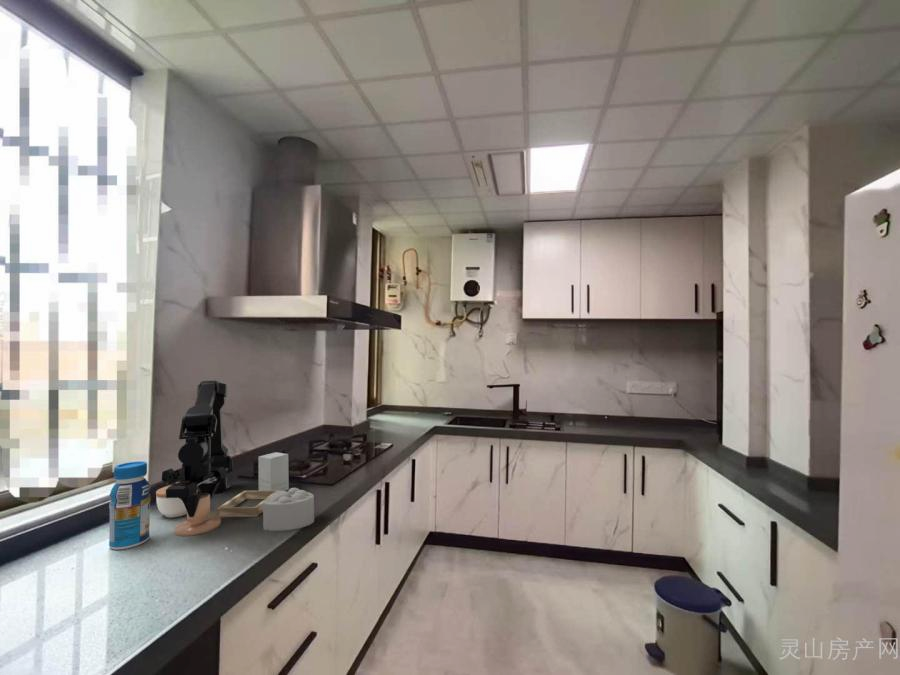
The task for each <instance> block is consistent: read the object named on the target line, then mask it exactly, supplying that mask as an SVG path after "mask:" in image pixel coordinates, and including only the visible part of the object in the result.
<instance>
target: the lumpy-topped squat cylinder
mask: <svg viewBox="0 0 900 675" xmlns="http://www.w3.org/2000/svg"><path fill="white" fill-rule="evenodd" d="M262 515H263V516H262V519H263V521H262V529H263V530H265V531H267V530H269V531H270V532H272V531H274V532H279V531H292V530H297V529H298V530H299V529H301V528H305V527H308V526H310V525H311V524H313V523H314V522H315V496H314V494H313V493H311V492H308V491H306V490H304V489H299V488H297V487H290V488H289V489H288V490H286V491H277V492H275V493H274V494H273V495H271V496H270V497H269V498H268V499H267V500H265V501H264V502H263V512H262Z"/></svg>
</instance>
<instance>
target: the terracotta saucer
mask: <svg viewBox="0 0 900 675" xmlns="http://www.w3.org/2000/svg"><path fill="white" fill-rule="evenodd" d="M221 524H222V517H217V516H216V515H210V517H209V518H208V519H206V520H203V521H200V522H187V519H186V520H184V521H182V522H180V523H178V524H177V525H175V527H174V532H173V533H174V535H176V536H180V537H191V536H197V535H202V534H206V533H208V532H212V531H213V530H216V529H217V528H219V526H220V525H221Z"/></svg>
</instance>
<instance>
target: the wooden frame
mask: <svg viewBox="0 0 900 675" xmlns="http://www.w3.org/2000/svg"><path fill="white" fill-rule="evenodd" d="M277 491H279V490H261V491H259V490H243V491H241V492H240V493H238V494H237V495H235V496H233V497H232V498H230V499H229V500H227V501H226V502H224V503H223V504H221V505H220V506H218V507H217V508H216V511H215V516H217V517H219V518H245V517H247V518H249V517H250V518H252V517H253V518H254V517H255V518H256V517H258V516H260V514H263V502H264V501H265V500H267V499H268V498H269V497H270V496H271V495H273V494H274V493H275V492H277ZM245 500H262V501H260V502H259V503H258V504H257V505H255V506H238V505H239V504H241V503H242V502H244V501H245Z"/></svg>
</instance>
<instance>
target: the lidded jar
mask: <svg viewBox="0 0 900 675" xmlns="http://www.w3.org/2000/svg"><path fill="white" fill-rule="evenodd" d="M180 482H181V481H176V482H175V484H176V483H180ZM171 485H172V484H170V485H166V486H163V487H161V488H159V489H157V490H156V491H155V496H156V499H155V501H156V506H157V509H158V510H159V512H160V513H161V514H162V515H163V516H165V518H171V519H173V518H178V517H182V516H185V515H187V510H186V508H185V505H184V503H183V501H182V500H181V499H180V498H166V489H167V488H168V487H169V486H171ZM198 490H199V488H198V487H197V492H199V491H198Z"/></svg>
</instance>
